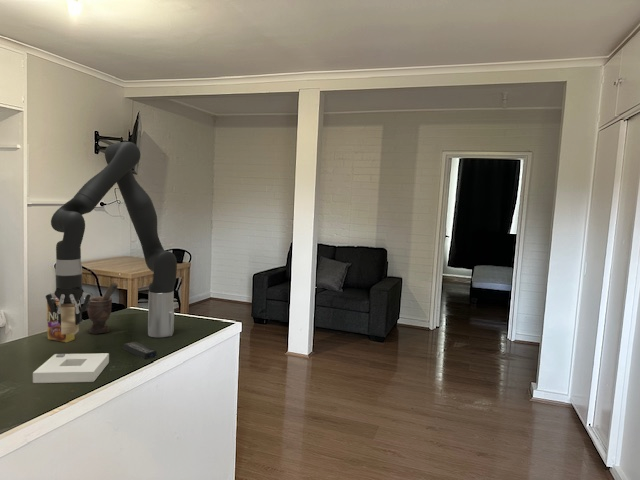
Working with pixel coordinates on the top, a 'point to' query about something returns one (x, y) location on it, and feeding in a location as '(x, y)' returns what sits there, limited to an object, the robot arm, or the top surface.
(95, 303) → the mortar and pestle
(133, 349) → the multiport hub
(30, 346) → the top surface
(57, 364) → the socket plate
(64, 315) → the square peg
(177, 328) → the top surface
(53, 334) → the candy box
